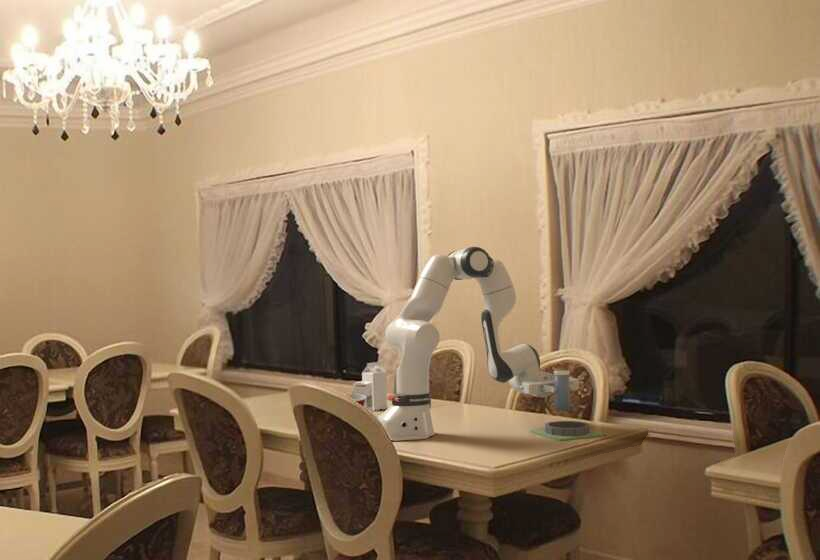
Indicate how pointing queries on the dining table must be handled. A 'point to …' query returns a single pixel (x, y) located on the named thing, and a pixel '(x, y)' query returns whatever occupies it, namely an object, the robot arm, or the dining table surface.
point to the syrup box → (364, 392)
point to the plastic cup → (358, 398)
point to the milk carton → (376, 384)
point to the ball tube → (562, 390)
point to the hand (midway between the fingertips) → (563, 388)
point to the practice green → (567, 430)
